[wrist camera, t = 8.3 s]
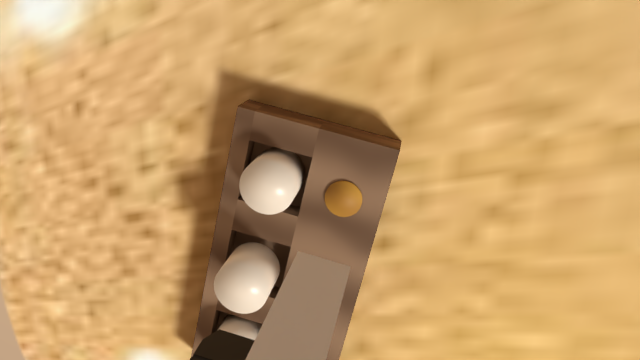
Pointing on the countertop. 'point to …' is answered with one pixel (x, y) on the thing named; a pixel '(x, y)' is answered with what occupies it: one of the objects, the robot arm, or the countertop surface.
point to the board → (302, 205)
